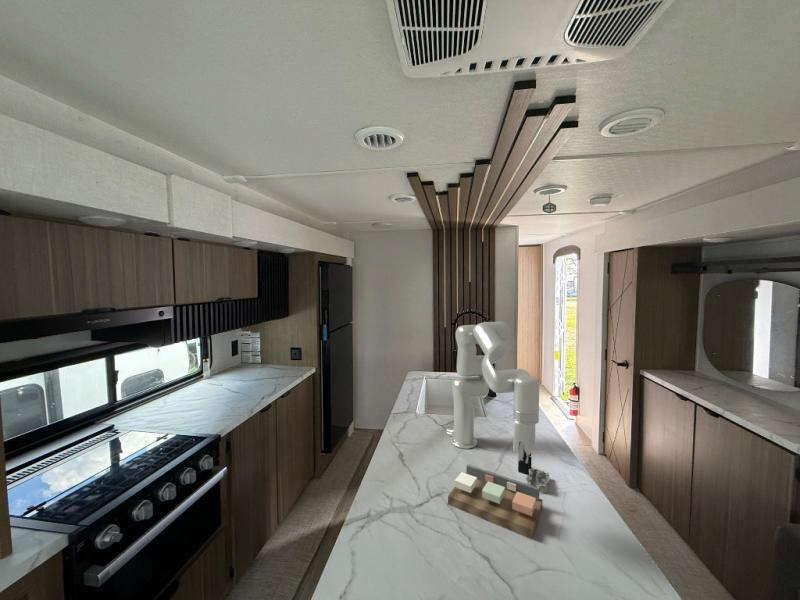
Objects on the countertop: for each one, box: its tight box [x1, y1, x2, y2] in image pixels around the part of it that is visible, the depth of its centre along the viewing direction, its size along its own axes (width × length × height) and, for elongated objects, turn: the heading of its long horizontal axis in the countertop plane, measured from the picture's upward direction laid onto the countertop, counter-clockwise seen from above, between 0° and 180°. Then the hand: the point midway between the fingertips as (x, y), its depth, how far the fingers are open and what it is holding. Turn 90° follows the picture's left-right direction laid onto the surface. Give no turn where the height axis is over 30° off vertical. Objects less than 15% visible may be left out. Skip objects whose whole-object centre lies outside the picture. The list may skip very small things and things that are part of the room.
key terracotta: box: [512, 492, 536, 516], centre depth 105 cm, size 6×6×2 cm
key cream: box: [454, 471, 477, 493], centre depth 116 cm, size 6×6×2 cm
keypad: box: [447, 464, 544, 540], centre depth 112 cm, size 28×16×7 cm, turn 56°
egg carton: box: [525, 466, 551, 495], centre depth 124 cm, size 11×8×4 cm
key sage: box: [482, 481, 505, 504], centre depth 111 cm, size 6×6×2 cm
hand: (524, 470), depth 105 cm, fingers open, 2 cm apart
